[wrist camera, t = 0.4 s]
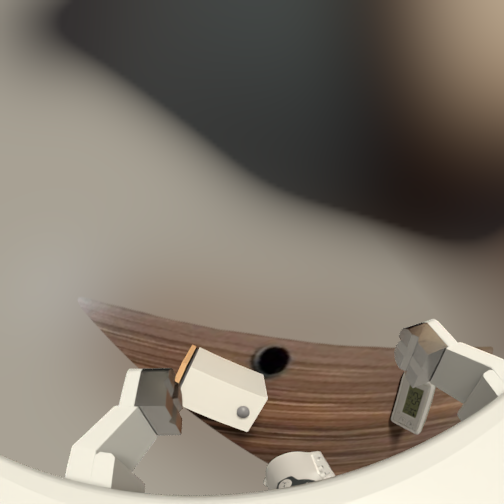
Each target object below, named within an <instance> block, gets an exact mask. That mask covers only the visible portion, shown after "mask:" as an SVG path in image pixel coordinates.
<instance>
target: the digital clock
mask: <svg viewBox="0 0 504 504" xmlns="http://www.w3.org/2000/svg"><path fill="white" fill-rule="evenodd" d="M435 388H436V386H434V385H432V384H431V383H430V382H427V383H425V384H422V385H420V386H417V387H415V388H412V387H411V385H410V384H409V382H408V380H407V379H406V377H405V372H404V374H403V376H402V380H401V384H400V388H399V391H398V395H397V399H396V402H395V406H394V409H393V413H392V416H391V421H392V422H393V423H395V424H397V425H399V426H401V427H403V428H404V429H406V430H408V431H410V432H412V433H414V434H419V433H420V432H421V430H422V428H423V425H424V423H425V421H426V418H427V415H428V412H429V409H430V406H431V403H432V400H433V395H434V392H435Z"/></svg>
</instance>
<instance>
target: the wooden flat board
mask: <svg viewBox="0 0 504 504" xmlns="http://www.w3.org/2000/svg"><path fill="white" fill-rule="evenodd" d="M195 349H196V346H194V345H192V346H191V348H190V350H189V352H188V353H187V355H186V357H185V359H184V360H183V362H182V364H181V366H180V369H179V371H178V373H177V375H176V378H175V381H176V382H177V383H180V381H181V379H182V377H183V375H184V373H185V371H186V369H187V366H188V364H189V362H190V360H191V358H192V356H193V353H194V351H195Z"/></svg>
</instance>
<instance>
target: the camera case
mask: <svg viewBox="0 0 504 504" xmlns="http://www.w3.org/2000/svg"><path fill="white" fill-rule="evenodd" d="M180 388H181V392H182V400H183V407H185V408H187V409H189V410H192V411H194V412H196V413H199V414H201V415H203V416H206V417H208V418H211V419H213V420H216V421H218V422H221V423H223V424H226V425H229V426H232V427H234V428H237V429H240V430H243V431H246V432H248V431H249V429H250V427H251V426H252V424H253V422H254V421H255V419H256V418H257V416H258V414H259V413H260V411H261V409H262V408H263V406H264V404H265V402H266V401H267V399H268V397H267V392H266V387H265V381H264V376H263V374H260V373H258V372H255V371H253V370H250V369H248V368H245V367H243V366H240V365H238V364H236V363H233V362H231V361H229V360H226V359H224V358H222V357H220V356H217V355H215V354H213V353H211V352H209V351H206V350H204V349H202V348H199V349H197V350H196V352H195V354H194V356H193V358H192V360H191V362H190V364H189V366H188V368H187V370H186V372H185V375H184V377H183V379H182V381H181V383H180Z"/></svg>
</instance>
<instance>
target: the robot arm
mask: <svg viewBox="0 0 504 504" xmlns="http://www.w3.org/2000/svg"><path fill="white" fill-rule="evenodd" d="M399 337H400V339H401V341H400V342H399V343H398V344H397V345H396V348H395V352H394V353H395V360H396V363H397V365H398V366H399V368H400V369H402V370H404V371H405V377H406V379H407V380H408V382H409V384H410V385H411V387H412V388H415V387H417V386H420V385H422V384H425V383H427V382H430V383H431V384H432V385H434V386H436V387H437V388H439V389H440V390H442V391H444V392H445V393H447V394H449V395H450V396H452V397H453V398H455V399H457V400H458V401H460V402H461V403H463V405H462V407H461V408H460V410H459V411H458V414H457V415H458V417H459V418H460V420H461V422H460V423H458V424H456V425H455V426H453V427H451V428H449V429H448V430H446V431H444V432H442V433H440V434H439V435H437V436H435V437H433V438H431V439H429V440H427V441H425V442H423V443H421V444H419V445H417V446H415V447H413V448H410V449H408V450H406V451H404V452H401V453H399V454H397V455H394V456H392V457H390V458H387V459H385V460H382V461H379V462H377V463H374V464H371V465H368V466H366V467H363V468H360V469H357V470H354V471H351V472H347V473H344V474H341V475H337V476H335V474H334V473H333V471H332V469H331V468H330V466H329V464H328V463H327V461H326V460H325V458H324V456H323V455H322V453H321V452H320V451H315V452H309V453H308V452H290V453H286V454H283V455H280V456H278V457H276V458H275V459H273V460H272V461H271V462H270V463H269V464H268V466H267V468H266V477H265V479H264V481H263V483H264V485H265V486H267V487H268V490H267V491H259V492H251V493H241V494H228V495H205V496H204V495H203V496H185V495H183V496H182V495H162V494H149V493H145V484H144V483H143V481H142V480H141V479H139V478H138V477H137V476H136V475H135V474H133V473H132V471H133V470H134V469H135V467H136V466H137V465H138V463H139V462H140V461H141V459H142V458H143V456H144V455H145V454H146V452H147V451H148V449H149V448H150V447H151V445H152V444H153V442H154V441H155V440H156V438H157V435H181V429H182V418H181V416H180V414H179V412H180V411H181V409H182V407H183V400H182V392H181V388H180V385H179V383H177V382H176V381H175V373H174V371H173V369H172V368H153V369H129V370H128V372H127V374H126V378H125V382H124V386H123V389H122V394H121V398H120V402H119V406H114V407H113V408H112V409H111V410H110V411H109V412H108V413H107V414H106V415H105V416H103V417H102V419H100V420H99V421H98V422H97V423H96V424H95V425H94V426H93V427H92V428H91V429H90V430H89V431H88V432H87V433H86V434H84V436H82V437H81V438H80V439H79V440H78V441H77V442H76V443H75V444H74V445H73V446H72V449H71V453H70V457H69V461H68V466H67V470H66V475H65V478H63V477H59V476H56V475H52V474H49V473H46V472H43V471H40V470H37V469H35V468H32V467H29V466H27V465H24V464H21V463H19V462H17V461H14V460H12V459H9V458H7V457H5V456H3V455H0V504H504V359H502V358H499V357H497V356H494V355H492V354H489V353H487V352H484V351H482V350H479V349H477V348H474V347H472V346H469V345H467V344H464V343H462V342H459V343H457V341H456V340H455V339H454V338H453V337H452V336H451V335H450V334H449V333H448V332H447V330H446V329H445V328H444V327H443V326H442V325H441V324H440V323H439V322H438V321H437V320H435V319H432V320H428V321H425V322H423V323H419V324H416V325H413V326H410V327H407V328H403V329H402V331H401V332H400V335H399ZM318 457H319V458H318Z"/></svg>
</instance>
